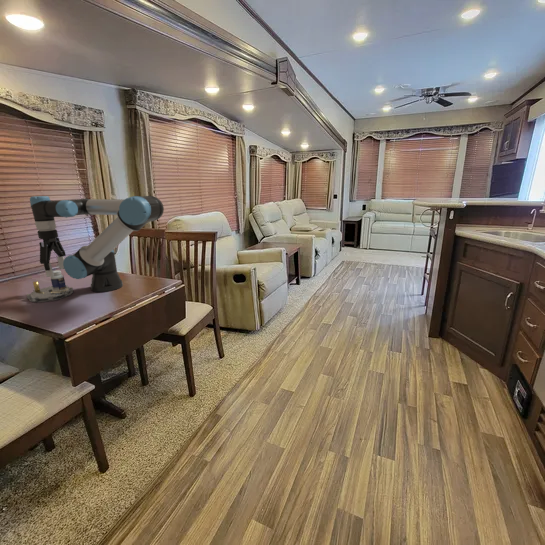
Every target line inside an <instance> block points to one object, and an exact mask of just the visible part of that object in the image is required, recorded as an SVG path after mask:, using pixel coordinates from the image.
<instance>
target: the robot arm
mask: <svg viewBox="0 0 545 545" xmlns="http://www.w3.org/2000/svg"><path fill="white" fill-rule="evenodd" d="M29 203H30V208H31V212H32V216H33V219H34V225H35V227H36V233H37V235H38V236H37V237H38V238H39V240H42V241H40V242H39V244H38V245H39V264H40V265H43V268H44V272H45V276H46V278H51V277H53V276H54V274H53V271H54V270H53V265H52V263H51V262H50V261H51V255H52V251H53V252H54V254H56V256H57V257H56V259H57V262H58V268H59V270H64V271H65V272H66V274H67V275H68V276H69V277H71V278H72V279H75V280H82V279H85V278H87V277H89V276H91V275H92V276H91V283H90V290H91V291H92V292H96V293H105V292H111V291H115V290H117V289H120V288H122V287H123V286H124V283H123V280H122V279H121V277H120V275H119V273H118V270H117V262H116V258H115V257H116V256H115V255H116V254H115V248H117V247H118V246H119V245H120V244H121V243H122V242H123V241H124V240H125V239H126V238H127V237H128V236H130V235H131V233H133V232H139V231H140V230H141V229H142V228H144V227H145V226H146V225H148V223H151V222H155V221H158V220H159V219H160V218H162V216H163V215H164V209H165V207H164V204H163V202H162V201H161V200H160V199H159V198H158V197H156V196H154V195H143V196H142V195H140V196H137V195H132V196H129V197H127V198H124V199H123V198H122V199H105V198H102V199H101V198H100V199H99V198H98V199H97V198H95V199H93V198H92V199H91V198H90V199H89V198H81V199H80V198H79V199H62V200H61V199H60V200H51V199H50V196H47V195H39V196H37V195H35V196H34V195H33V196H30V198H29ZM83 215H89V216H91V215H94V216H95V215H98V216H99V215H102V216H104V215H105V216H117V217H116V218H115V219H114V220H113V221H112V222H111V223H110V224H108V226H106V227H105V229H104V230H103V231H102V232H100V233H99V234H98V236H96V237H95V238H94V239H93V241H91V242H90V243H89V244H88V245H83V246H81V247H80V248H79V249H77V250H76V252H75V253H73V254H70V255H68V256H66V255H67V254H66V251H65V250H64V248H63V245H62V243H61V241H60V238H59V233H58V230H57V224H56V220H55V218H66V219H67V218H74V217H75V216H83Z"/></svg>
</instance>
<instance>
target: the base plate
mask: <svg viewBox="0 0 545 545" xmlns="http://www.w3.org/2000/svg"><path fill="white" fill-rule="evenodd" d="M73 293H74V290H73V291H71V292H70V293H69V295H67V296H62V297H59V298H55V299H53V300H38V301H32V299H31V298H30V299H28V301H29V302H31V303H48V302H53V301H58V300H62V299H65V298H68V297H70V296H71V295H72V294H73Z"/></svg>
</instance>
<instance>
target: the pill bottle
mask: <svg viewBox="0 0 545 545" xmlns="http://www.w3.org/2000/svg"><path fill="white" fill-rule="evenodd" d="M53 274H54V276H53V277H50V281H51V286H52V287H53V291H63V290H65V289H66V285H67V284H66V281H65V277H64V274H62V271H61V269H59V270H53Z"/></svg>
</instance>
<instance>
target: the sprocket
mask: <svg viewBox="0 0 545 545" xmlns="http://www.w3.org/2000/svg"><path fill="white" fill-rule="evenodd" d="M32 285H33V288H34V290H32V292H31V293H28V294H27V295H26V297H27V298H26V299H27V300H29V299H30V298H31V299H32V301H38V300H53V299H55V298H59V297H62V296H67V295H69V293H70V292H71V291H73V292H74V288H73V287H72V286H68V284H65V285H66V289H65V290H63V291H53V287H52V285H49V286H47V287H42V288H40V283H39V281H38V280H35V281H33V282H32ZM69 296H70V295H69ZM67 297H68V296H67Z"/></svg>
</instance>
